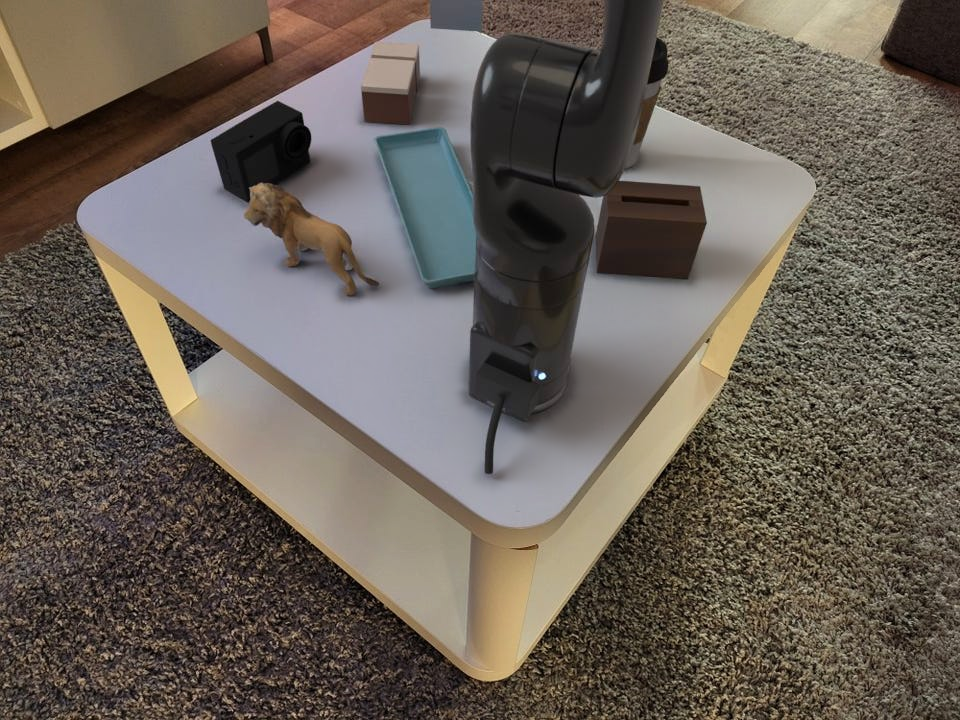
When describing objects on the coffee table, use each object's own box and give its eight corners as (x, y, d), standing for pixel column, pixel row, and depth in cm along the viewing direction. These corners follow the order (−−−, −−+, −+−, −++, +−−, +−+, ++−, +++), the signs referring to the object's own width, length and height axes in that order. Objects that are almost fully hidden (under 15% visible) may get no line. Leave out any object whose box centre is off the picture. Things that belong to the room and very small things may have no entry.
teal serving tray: (506, 281, 82) (507, 264, 80) (423, 297, 80) (422, 280, 78) (444, 142, 98) (444, 125, 96) (374, 153, 96) (372, 136, 94)
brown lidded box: (409, 125, 100) (407, 89, 96) (364, 122, 100) (360, 85, 96) (416, 96, 104) (414, 60, 100) (373, 93, 104) (369, 57, 100)
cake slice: (417, 92, 105) (415, 57, 101) (373, 89, 105) (370, 54, 101) (420, 79, 107) (418, 44, 103) (377, 76, 107) (375, 41, 103)
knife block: (688, 279, 83) (707, 222, 77) (596, 272, 83) (608, 215, 77) (682, 242, 87) (700, 185, 80) (595, 236, 87) (606, 179, 81)
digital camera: (255, 208, 88) (242, 157, 83) (223, 189, 90) (209, 139, 85) (318, 165, 94) (310, 115, 88) (287, 149, 96) (277, 99, 90)
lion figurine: (249, 262, 82) (230, 195, 76) (276, 233, 86) (261, 166, 79) (367, 304, 79) (359, 238, 72) (391, 272, 82) (386, 206, 75)
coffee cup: (570, 163, 96) (586, 50, 84) (595, 129, 100) (614, 18, 89) (633, 184, 93) (658, 70, 82) (655, 148, 98) (683, 37, 86)
